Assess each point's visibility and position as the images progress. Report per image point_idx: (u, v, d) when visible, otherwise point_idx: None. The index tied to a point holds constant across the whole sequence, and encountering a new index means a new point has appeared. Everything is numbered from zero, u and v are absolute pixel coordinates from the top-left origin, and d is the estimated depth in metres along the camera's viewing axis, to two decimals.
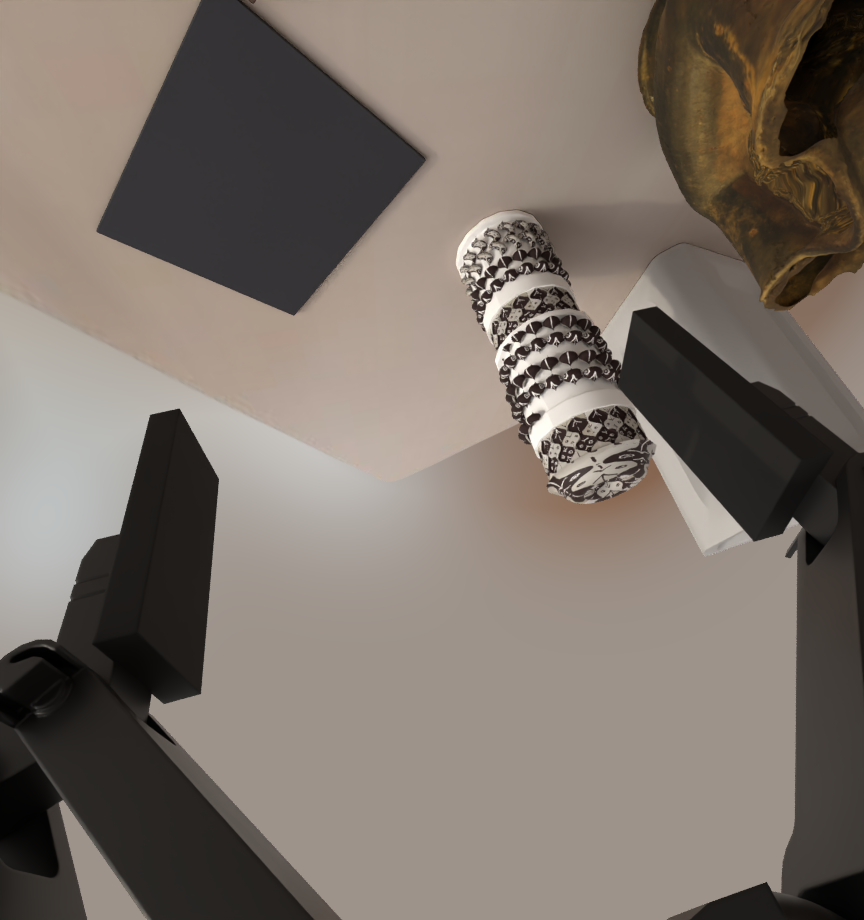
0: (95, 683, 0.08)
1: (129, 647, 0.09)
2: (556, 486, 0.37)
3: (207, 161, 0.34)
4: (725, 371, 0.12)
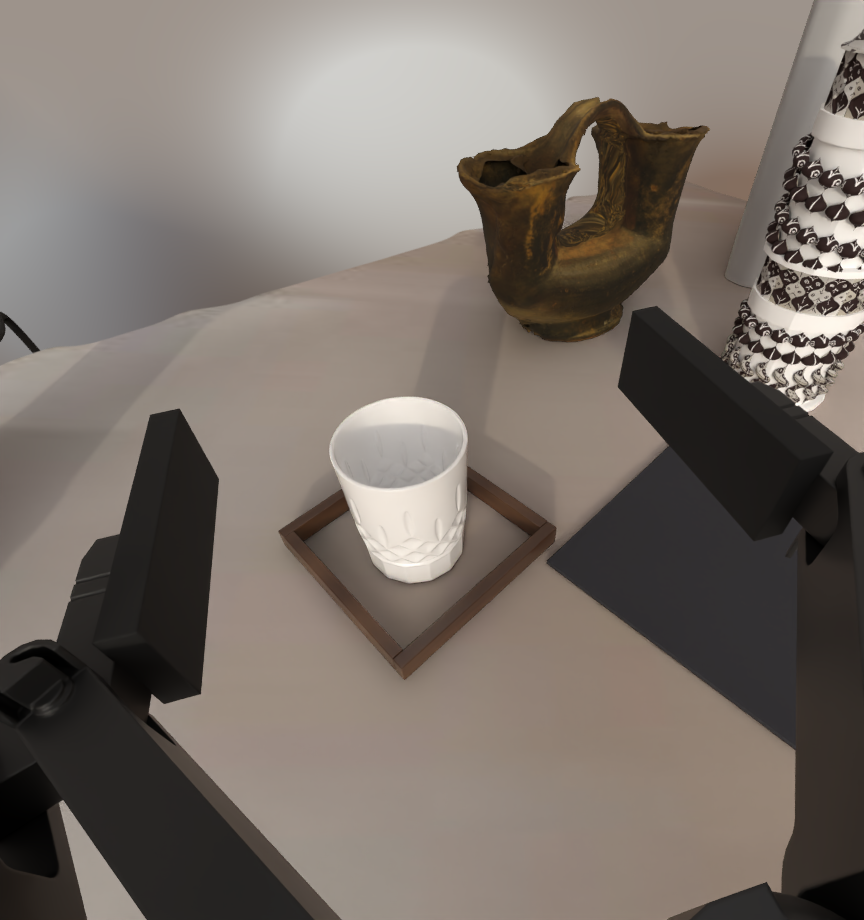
0: (95, 683, 0.08)
1: (129, 647, 0.09)
2: None
3: (708, 612, 0.30)
4: (725, 370, 0.12)
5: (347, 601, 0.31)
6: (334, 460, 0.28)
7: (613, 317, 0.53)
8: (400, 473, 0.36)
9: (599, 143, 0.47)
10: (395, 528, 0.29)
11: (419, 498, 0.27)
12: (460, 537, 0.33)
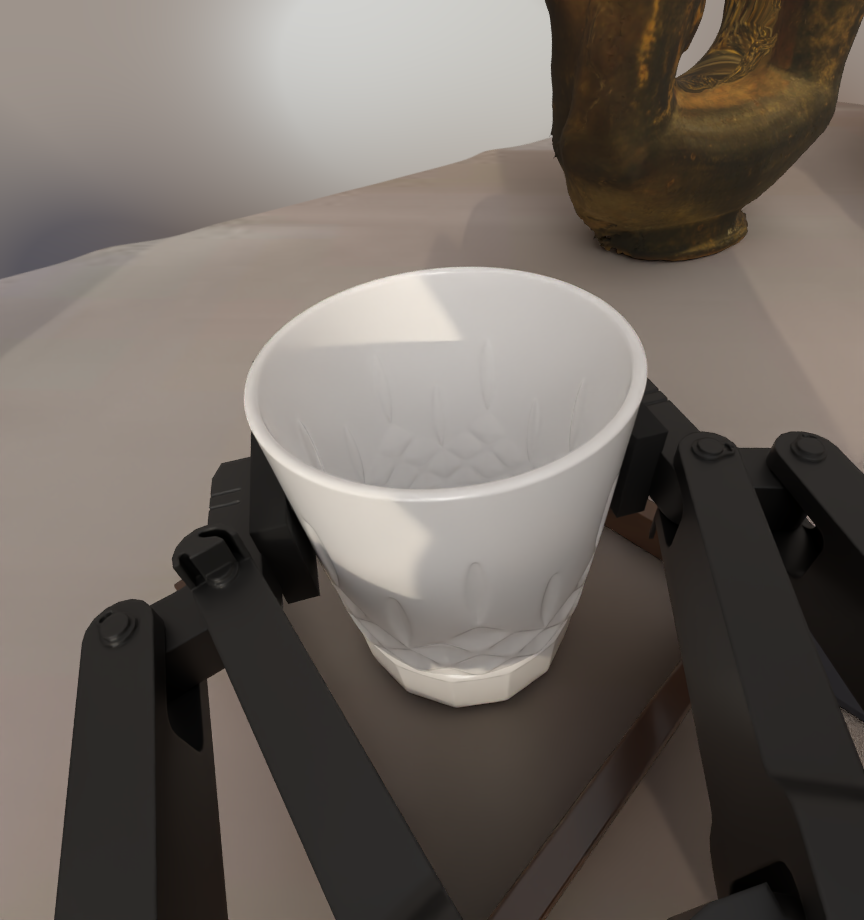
0: (256, 572, 0.10)
1: (277, 539, 0.10)
2: None
3: None
4: None
5: None
6: (254, 410, 0.09)
7: (739, 225, 0.35)
8: (430, 459, 0.17)
9: None
10: (437, 606, 0.10)
11: (522, 523, 0.08)
12: None
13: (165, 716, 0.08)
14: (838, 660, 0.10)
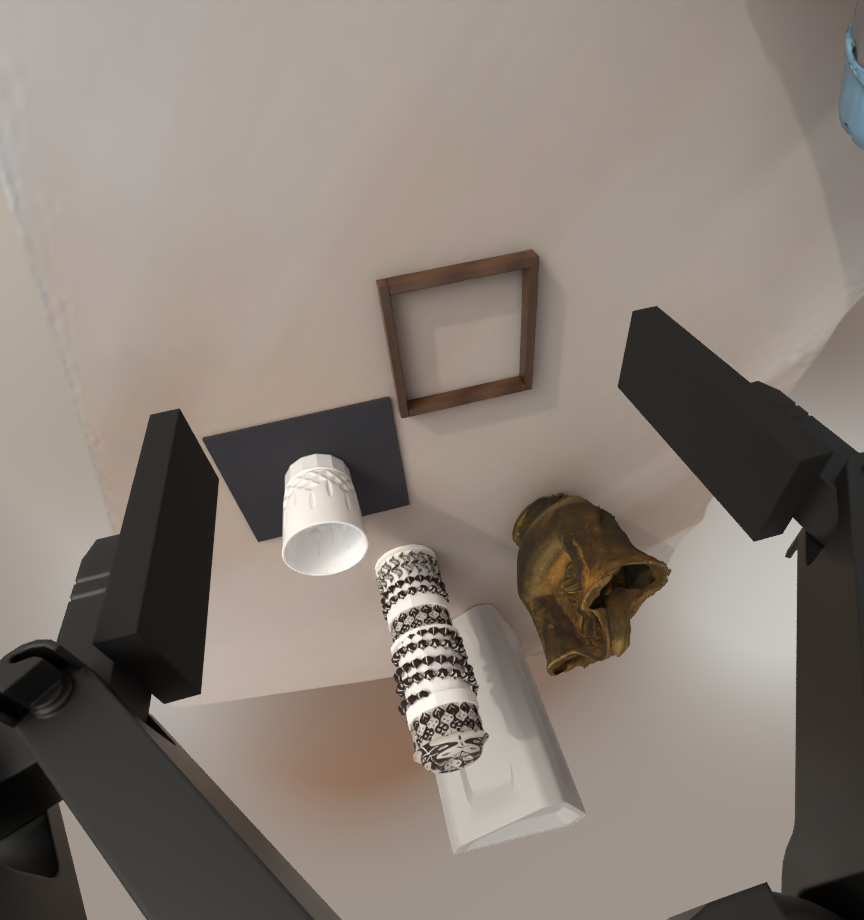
0: (95, 683, 0.08)
1: (129, 647, 0.09)
2: (424, 751, 0.51)
3: (308, 447, 0.52)
4: (725, 370, 0.12)
5: (446, 278, 0.42)
6: (331, 522, 0.45)
7: (517, 540, 0.70)
8: None
9: None
10: (288, 511, 0.48)
11: (282, 540, 0.47)
12: None
13: None
14: None
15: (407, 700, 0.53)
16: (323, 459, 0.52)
